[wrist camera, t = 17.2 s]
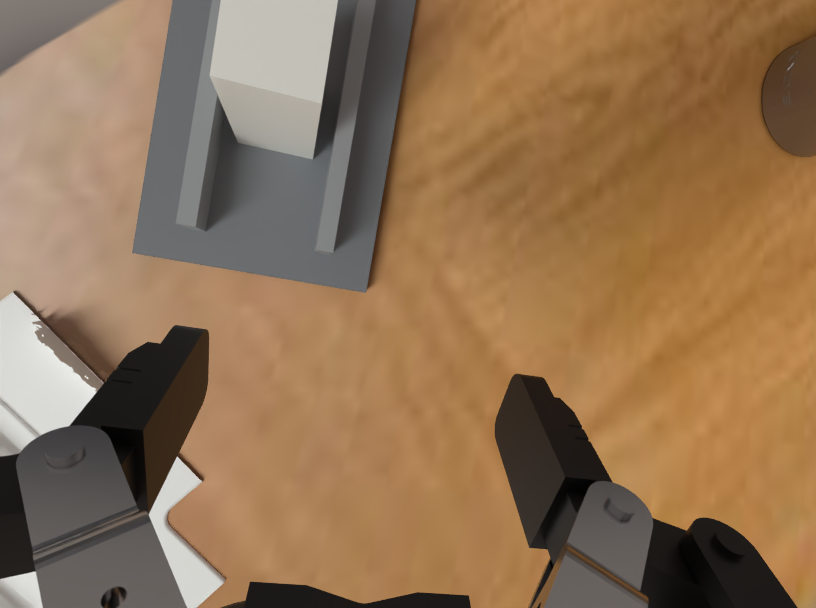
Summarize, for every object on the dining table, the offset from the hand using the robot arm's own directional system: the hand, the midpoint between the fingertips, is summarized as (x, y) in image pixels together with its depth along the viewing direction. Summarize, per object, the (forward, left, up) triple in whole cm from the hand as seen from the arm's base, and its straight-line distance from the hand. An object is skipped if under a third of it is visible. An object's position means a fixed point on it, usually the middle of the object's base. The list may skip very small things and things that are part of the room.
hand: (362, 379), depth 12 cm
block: (+4, -12, -19) cm, 23 cm away
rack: (+4, -12, -20) cm, 23 cm away
